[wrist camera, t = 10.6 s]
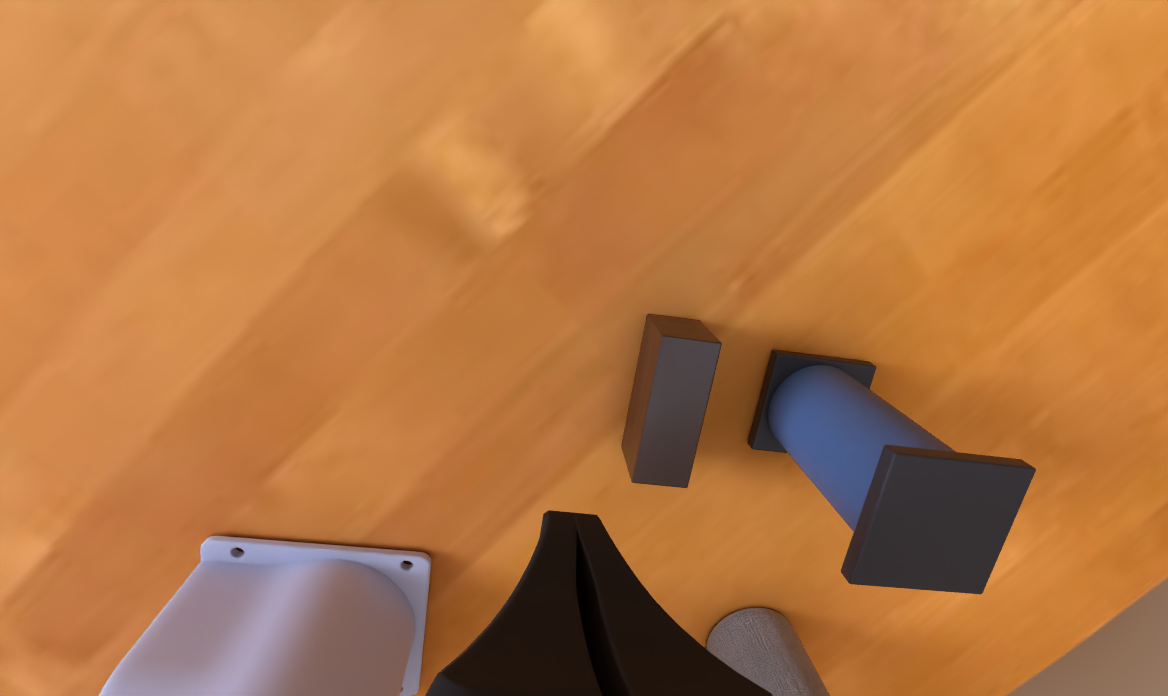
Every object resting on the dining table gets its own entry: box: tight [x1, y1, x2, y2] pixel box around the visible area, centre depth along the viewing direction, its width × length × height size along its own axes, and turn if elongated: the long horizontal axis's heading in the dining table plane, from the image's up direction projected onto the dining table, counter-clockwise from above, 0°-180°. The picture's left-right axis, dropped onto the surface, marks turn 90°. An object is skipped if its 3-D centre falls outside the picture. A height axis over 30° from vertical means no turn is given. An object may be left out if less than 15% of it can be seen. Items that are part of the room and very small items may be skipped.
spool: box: [748, 350, 1036, 594], centre depth 22 cm, size 10×4×9 cm
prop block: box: [621, 314, 722, 488], centre depth 24 cm, size 2×6×3 cm, turn 171°
